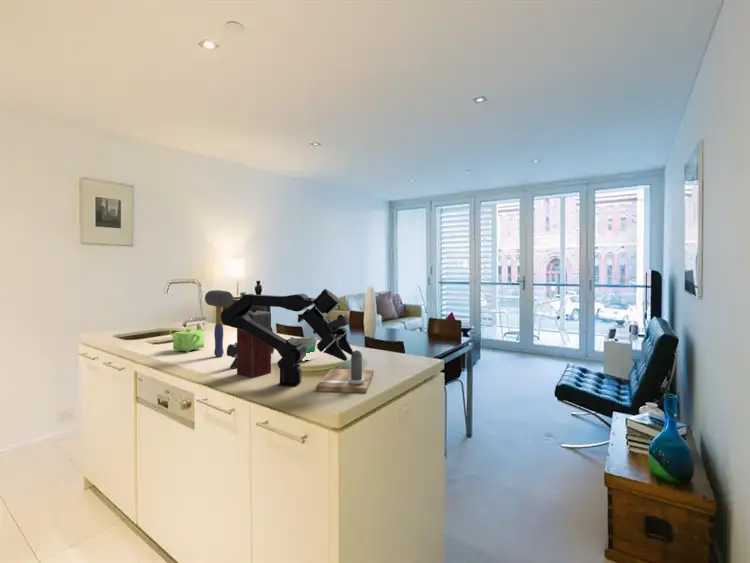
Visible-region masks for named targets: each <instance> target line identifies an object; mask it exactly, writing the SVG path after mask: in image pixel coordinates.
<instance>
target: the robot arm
mask: <svg viewBox="0 0 750 563" xmlns="http://www.w3.org/2000/svg"><path fill="white" fill-rule="evenodd" d="M339 304H340V300H339V298H338V296H336V294H334V293H333V292H331V291H329V290H328V289H327V288H324V289H323V290H322V291H321V292H320V294H319V295H318V296H317V297H316V298H314V297H309V296H308V294H305V293H297V294H289V295H270V294H269V295H268V294H254V293H246V294H244V295H242V296H241V297H240V298H239V299H238V300H236V301H235V302H233V303H232V304H231V305H230V306H228V307H227V308H225V309H222V313H221V321H222V324H224V326H225V325H226V326H228V327H231V328H234V329H237V328H238V329H242V330H244V331H246V332H248V333H249V334H251V335H253V336H254V337H256V338H258V339H259V340H261V341H263V342H264V343H266V344H268V345H269V346H271V347H273V348H274V350H275V351H277V353H278V354H279V356H280V357H281V358H280V359H278V361H277V366H278V368H279V382H278V383H277V385H278V386H284V387H285V386H287V387H289V386H290V387H291V386H292V387H296V386H298V385H299V384H300V383H302V381H303V380H302V377H303V376H302V370H303V369H301V365H300V364H301V362H302V361H301V360H302V359H303V358H304V357H305V356H306V347H305V346H304V345H303V344H302V343H303V342H299V341H297V340H296V339H295V338H296V337H292V336H291V337H292V338H291V337H290V338H288V339H286V338H284V337H282V336H280V335H279V334H277V333H275V332H272V331H270V330H268V329H267V328H265V327H263V326H262V325H260V324H258V323H257V322H255V321H253V320H252V319H251V318H250V317H249V315H248V314H247V312H248V311H251V310H250V308H251V307H252V306H253V305H254V306H260V307H271V308H272V307H275V308H283V309H285V310H288V311H292V312H297V313H298V312H301V311H304V312H303V313H299V314H297V323H301V322H306V324H307V325H308V326H309V327H310V328H311V329H312V330H313V331H312V333H313V334H314V335H315V334H316V335H317V336H318V337H319V338H320V340H319V342H317V343H316V349H318V351H319V352H320V353H322V352H323V353H324V354H327V355H329V356H332V357H335V358H337V359H339V360H341V361H343V362H346V361H347V360H348V357H347V356H346V354H345V353H347V354H348V355H352V353H353V352H354V350H353V349H352V346H351V345H350V343H349V341H348V330H347V329H346V326H348V325H350V321H349V317H348V316H347V315H345V314H343V313H341V314H338V315H337V318H336V319H334V320H331V319H330V318H326V317H325V316H324V314H330V312H332V311H333V310H334V309H335V308H336V307H337V306H338V305H339ZM312 306H313V307H312ZM310 307H311V308H310ZM344 352H345V353H344Z"/></svg>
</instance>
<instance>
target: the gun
mask: <svg viewBox="0 0 750 563" xmlns="http://www.w3.org/2000/svg"><path fill="white" fill-rule="evenodd" d="M226 348H227V349H226V356H228V357H231V358H232V359H234V360H232V363H231V364H230V367H229V368H230V369H237V342H234V343H233V344H232V343H229V344H228V346H227V347H226ZM274 352H275V349H274V348H273V352H271V354H273V355H274Z"/></svg>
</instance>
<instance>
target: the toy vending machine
mask: <svg viewBox="0 0 750 563" xmlns="http://www.w3.org/2000/svg"><path fill="white" fill-rule="evenodd" d="M260 308H261V306H254V305H253V306H252V307H251V308H250V310H249V311H248V312H247V314H248V315H249V317H250V318H251V319H252V320H253V321H255V322H257V323H258V324H260V325H262V326H263V327H265V328H267V329H268V330H270V331H272V332H273V327H272V313H271V312H270V311H264V310H263V311H262V310H260ZM236 343H237V368H236V375H237V376H243V377H247V378H250V379H251V378H252V379H254V378H258V377H261V376H265V375H268V374H272V355H271V352H273V347H271V346H269V345H268V344H266V343H264V342H263V341H261V340H259V339H258V338H256V337H254V336H253V335H251V334H249V333H248V332H246V331H244V330H242V329H238V328H236Z"/></svg>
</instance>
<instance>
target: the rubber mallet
mask: <svg viewBox="0 0 750 563" xmlns="http://www.w3.org/2000/svg"><path fill="white" fill-rule="evenodd" d="M233 296H234V295H233V294H232V293H231V292H229V291H227V290H219V289H218V290H217V289H215V290H209V291H207V292H206V293H205V295H204V301H205V303H206V304H207V305H208V306H211V307H215V310H216V311H215V325H214V352H213V353H214V355H215V357H217V358H218V357H223V355H224V353H225V352H224V343H223V341H224V327H223V323H222V321H221V313H222V311H223V308H226V307H227V308H228V307H230V306H231V305H233V303H234V302H233V301H234V297H233Z"/></svg>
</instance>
